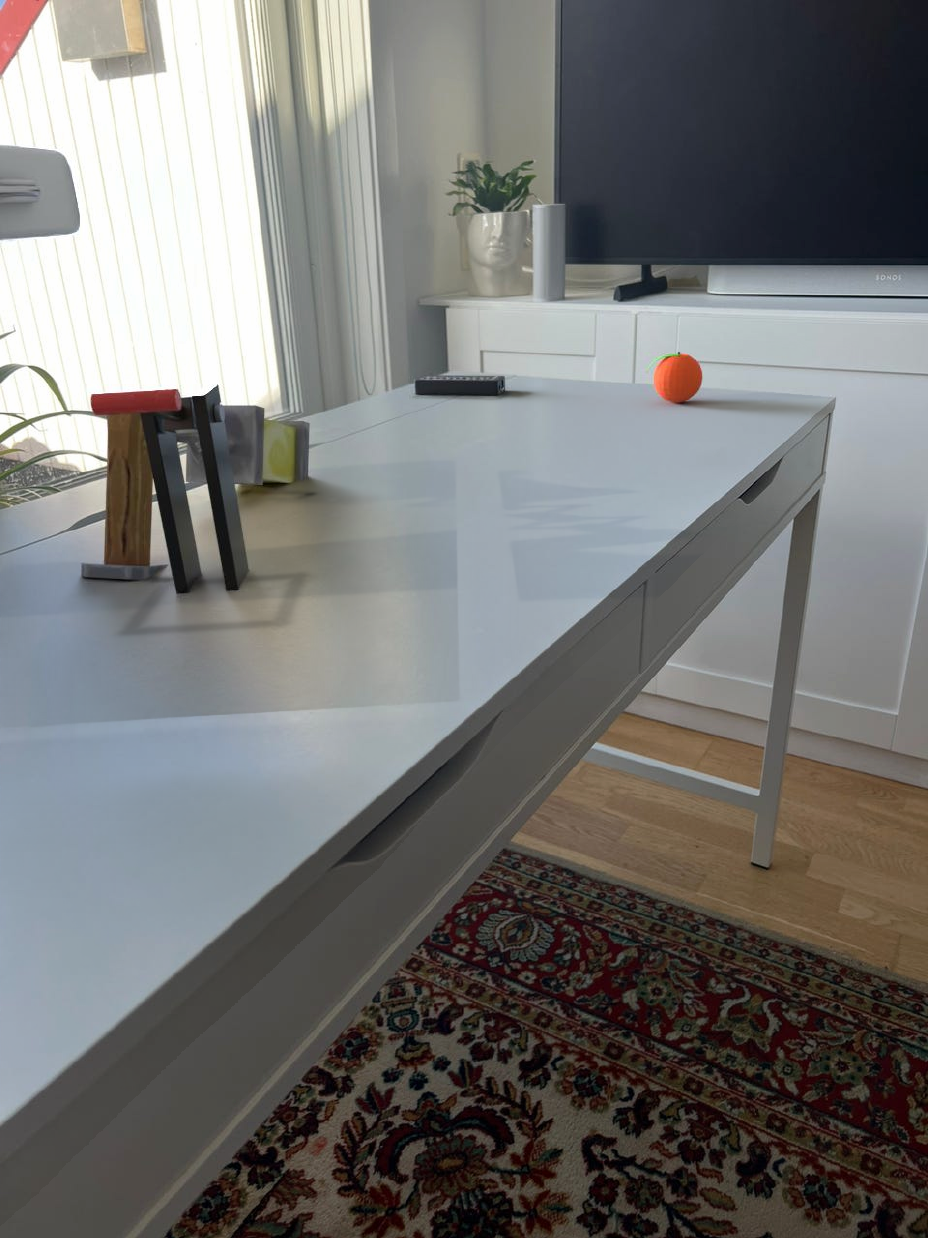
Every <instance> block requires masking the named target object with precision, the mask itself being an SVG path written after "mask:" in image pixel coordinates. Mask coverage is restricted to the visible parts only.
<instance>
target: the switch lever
mask: <svg viewBox="0 0 928 1238" xmlns="http://www.w3.org/2000/svg"><path fill="white" fill-rule="evenodd" d="M89 401H90V408H91V411H92V413H93V414H94V415H95V416H97V417H98V416H99V417H101V416H107V415H116V414H133V413H143V414H147V415H151V416H155V417H159V418H163V420H164V430H165V431H168V432H173V433H190V432H198V430H197V424H196V418H195V413H194V407H193V401H192V396H182V395H181V393H180V389H178V388H177V387H170V388H169V387H168V388H167V389H154V388H153V389H138V390H137V389H136V390H122V391H121V390H120V391H105V392H93V393H91V395H90V400H89Z"/></svg>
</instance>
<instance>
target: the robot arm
mask: <svg viewBox="0 0 928 1238" xmlns="http://www.w3.org/2000/svg"><path fill="white" fill-rule="evenodd" d="M81 227H82V218H81V207H80V203H79V197H78V192H77V187H76V184H75V180H74V175H73V172H72V169H71V166H70V162H69V160H68V158H67V157H66V155H65V154H64V153H63V152H61V151H60V150H58V149H55V148H49V147H48V148H47V147H36V146H24V145H23V146H22V145H7V144H0V243H4V242H5V243H6V242H16V241H17V242H18V241H30V240H44V239H54V238H55V239H57V238H65V237H69V236H74V235H76V234H77V233H79V232H80V230H81Z"/></svg>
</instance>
